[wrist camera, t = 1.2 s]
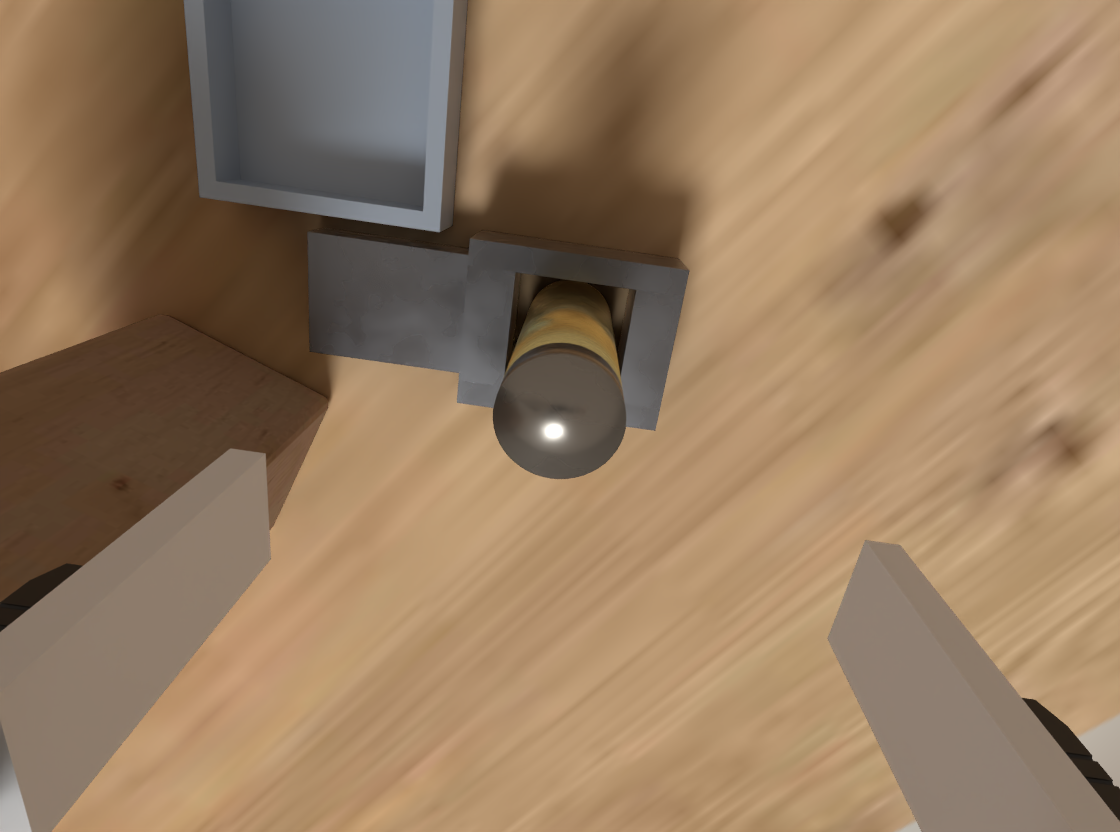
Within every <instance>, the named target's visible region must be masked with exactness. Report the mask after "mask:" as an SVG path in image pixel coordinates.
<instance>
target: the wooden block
mask: <svg viewBox="0 0 1120 832" xmlns="http://www.w3.org/2000/svg"><path fill="white" fill-rule="evenodd" d="M327 409H328V399H326V398H325V397H324V396H323V395H321V394H319V393H317V392H315V391H313V390H311V389H309V388H307V387H305V386H303V385H301V384H299V383H297V382H296V381H294V380H292V379H290V378H288V377H286V376H284V375H282V374H280V373H278V372H276V371H274V370H272V369H270V368H268V367H267V366H265V365H263V364H261V363H259V362H257V361H255V360H253V359H251V358H249V357H247V356H245V355H243V354H241V353H239V352H238V351H236V350H234V349H232V348H230V347H228V346H226V345H224V344H222V343H220V342H218V341H216V340H214V339H212V338H210V337H209V336H207V335H205V334H203V333H201V332H199V331H197V330H195V329H193V328H191V327H189V326H187V325H185V324H183V323H181V322H180V321H178V320H176V319H174V318H172V317H170V316H166V315H156V316H154V317H151V318H148V319H146V320H143V321H140V322H137V323H135V324H132V325H129V326H126V327H124V328H121V329H118V330H115V331H113V332H110V333H107V334H105V335H102V336H99V337H96V338H94V339H91V340H88V341H85V342H83V343H80V344H77V345H75V346H72V347H69V348H66V349H64V350H61V351H58V352H55V353H53V354H50V355H47V356H45V357H42V358H39V359H36V360H34V361H31V362H28V363H25V364H23V365H20V366H17V367H14V368H12V369H9V370H6V371H4V372H1V373H0V602H1V601H3V600H4V599H5V598H7V597H8V596H9V595H11V594H12V593H13V592H15V591H16V590H17V589H19V588H20V587H21V586H23V585H24V584H25V583H27V582H28V581H29V580H31V579H34V578H36V577H38V576H40V575H42V574H44V573H47V572H49V571H51V570H53V569H55V568H57V567H60V566H62V565H64V564H66V563H68V564H75V565H82V566H84V565H85V564H86V563H87V562H89V561H90V560H91V559H92V558H94V557H95V556H96V555H97V554H99V553H100V552H101V551H102V550H104V549H105V548H106V547H107V546H109V545H110V544H111V543H112V542H114V541H115V540H116V539H117V538H119V537H120V536H121V535H122V534H124V533H125V532H126V531H127V530H129V529H130V528H131V527H132V526H134V525H135V524H136V523H137V522H139V521H140V520H141V519H142V518H144V517H145V516H146V515H147V514H149V513H150V512H151V511H153V510H154V509H155V508H156V507H158V506H159V505H160V504H161V503H163V502H164V501H165V500H166V499H168V498H169V497H170V496H171V495H173V494H174V493H175V492H176V491H178V490H179V489H180V488H181V487H183V486H184V485H185V484H186V483H188V482H189V481H190V480H191V479H193V478H194V477H195V476H196V475H198V474H199V473H200V472H201V471H203V470H204V469H205V468H206V467H208V466H209V465H210V464H211V463H213V462H214V461H215V460H216V459H218V458H219V457H220V456H221V455H223V454H224V453H225V452H226V451H228V450H229V449H230V448H231V449H238V450H245V451H252V452H259V453H266V472H267V493H268V513H269V530H270V529H271V528H272V527H273V525H274V523H275V521H276V519H277V517H278V515H279V512H280V510H281V508H282V506H283V504H284V502H285V500H286V497H287V495H288V493H289V491H290V489H291V487H292V484H293V482H294V480H295V478H296V476H297V474H298V471H299V469H300V467H301V465H302V463H303V461H304V458H305V456H306V454H307V452H308V450H309V448H310V446H311V443H312V441H313V439H314V437H315V435H316V433H317V430H318V428H319V426H320V424H321V422H322V420H323V417H324V415H325V413H326V411H327Z"/></svg>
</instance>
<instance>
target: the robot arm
mask: <svg viewBox="0 0 1120 832" xmlns="http://www.w3.org/2000/svg"><path fill="white" fill-rule="evenodd" d="M270 559H271V553H270V533H269V513H268V493H267V472H266V453H259V452H252V451H245V450H238V449H231V448H230V449H229V450H228V451H226V452H225V453H224V454H223V455H221V456H220V457H219V458H218V459H216V460H215V461H214V462H213V463H211V464H210V465H209V466H208V467H206V468H205V469H204V470H203V471H201V472H200V473H199V474H198V475H196V476H195V477H194V478H193V479H191V480H190V481H189V482H188V483H186V484H185V485H184V486H183V487H181V488H180V489H179V490H178V491H176V492H175V493H174V494H173V495H171V496H170V497H169V498H168V499H166V500H165V501H164V502H163V503H161V504H160V505H159V506H158V507H156V508H155V509H154V510H153V511H151V512H150V513H149V514H147V515H146V516H145V517H144V518H142V519H141V520H140V521H139V522H137V523H136V524H135V525H134V526H132V527H131V528H130V529H129V530H127V531H126V532H125V533H124V534H122V535H121V536H120V537H119V538H117V539H116V540H115V541H114V542H112V543H111V544H110V545H109V546H107V547H106V548H105V549H104V550H102V551H101V552H100V553H99V554H97V555H96V556H95V557H94V558H92V559H91V560H90V561H89V562H87V563H86V564H85V565H84V566H82V565H75V564H68V563H66V564H64V565H62V566H60V567H57V568H55V569H53V570H51V571H49V572H47V573H44V574H42V575H40V576H38V577H36V578H34V579H31V580H29V581H28V582H27V583H25V584H24V585H23V586H21V587H20V588H19V589H17V590H16V591H15V592H13V593H12V594H11V595H9V596H8V597H7V598H5V599H4V600H3V601H1V602H0V832H51V831H52V830H53V829H54V828H55V826H56V825H57V824H58V823H59V822H60V820H61V819H62V818H63V817H64V815H65V814H66V813H67V812H68V810H69V809H70V808H71V807H72V805H73V804H74V803H75V802H76V800H77V799H78V798H79V797H80V795H81V794H82V793H83V792H84V790H85V789H86V788H87V787H88V785H89V784H90V783H91V782H92V781H93V779H94V778H95V777H96V776H97V774H98V773H99V772H100V771H101V769H102V768H103V767H104V766H105V764H106V763H107V762H108V761H109V759H110V758H111V757H112V756H113V754H114V753H115V752H116V751H117V749H118V748H119V747H120V746H121V745H122V743H123V742H124V741H125V740H126V738H127V737H128V736H129V735H130V733H131V732H132V731H133V730H134V728H135V727H136V726H137V725H138V723H139V722H140V721H141V720H142V718H143V717H144V716H145V715H146V713H147V712H148V711H149V710H150V708H151V707H152V706H153V705H154V704H155V702H156V701H157V700H158V699H159V697H160V696H161V695H162V694H163V692H164V691H165V690H166V689H167V687H168V686H169V685H170V684H171V682H172V681H173V680H174V679H175V677H176V676H177V675H178V674H179V672H180V671H181V670H182V669H183V668H184V666H185V665H186V664H187V663H188V661H189V660H190V659H191V658H192V656H193V655H194V654H195V653H196V651H197V650H198V649H199V648H200V646H201V645H202V644H203V643H204V641H205V640H206V639H207V638H208V636H209V635H210V634H211V633H212V631H213V630H214V629H215V628H216V627H217V625H218V624H219V623H220V622H221V620H222V619H223V618H224V617H225V615H226V614H227V613H228V612H229V610H230V609H231V608H232V607H233V605H234V604H235V603H236V602H237V600H238V599H239V598H240V597H241V595H242V594H243V593H244V592H245V591H246V589H247V588H248V587H249V586H250V584H251V583H252V582H253V581H254V579H255V578H256V577H257V576H258V574H259V573H260V572H261V571H262V569H263V568H264V567H265V566H266V564H267V563H268V562H269V561H270ZM828 641H829V643H830V645H831V647H832V649H833V651H834V653H835V655H836V657H837V659H838V661H839V664H840V666H841V668H842V670H843V672H844V674H845V676H846V678H847V680H848V682H849V684H850V686H851V688H852V690H853V692H854V694H855V696H856V698H857V700H858V702H859V704H860V707H861V709H862V711H863V713H864V715H865V717H866V719H867V721H868V723H869V725H870V727H871V729H872V731H873V733H874V735H875V737H876V739H877V741H878V743H879V745H880V747H881V750H882V752H883V754H884V756H885V758H886V760H887V762H888V764H889V766H890V768H891V770H892V772H893V774H894V776H895V778H896V780H897V782H898V784H899V786H900V788H901V790H902V793H903V795H904V797H905V799H906V801H907V803H908V805H909V807H910V809H911V811H912V813H913V815H914V817H915V819H916V821H917V823H918V825H919V827H920V829H921V831H922V832H1120V789H1119V787H1117V786H1114V785H1113V783H1112V781H1113V780H1112V779H1111V778H1110V776H1109V775H1108V774H1107V773H1106V772H1105V771H1104V769H1103V768H1102V767H1101V766H1100V764H1099V763H1098V762H1095V761H1093V760H1092V755H1091V754H1090V752H1089V751H1088V750H1087V749H1086V748H1085V746H1084V745H1083V744H1082V743H1081V742H1080V741H1079V739H1078V738H1077V737H1076V736H1075V735H1074V733H1073V732H1072V731H1071V730H1070V729H1069V727H1068V726H1067V725H1065V724H1064V723H1063V722H1062V721H1060V720H1059V719H1058V718H1057V717H1056V716H1054V715H1053V714H1052V713H1051V712H1049V711H1048V710H1047V709H1046V708H1045V707H1043V706H1042V705H1041V704H1040V703H1038V702H1037V701H1036V700H1033V699H1026V698H1021V697H1020V695H1019V694H1018V693H1017V692H1016V690H1015V689H1014V688H1013V687H1012V685H1011V684H1010V683H1009V681H1008V680H1007V679H1006V678H1005V676H1004V675H1003V674H1002V673H1001V671H1000V670H999V669H998V668H997V666H996V665H995V664H994V663H993V661H992V660H991V659H990V658H989V656H988V655H987V654H986V653H985V651H984V650H983V649H982V648H981V646H980V645H979V644H978V642H977V641H976V640H975V639H974V637H973V636H972V635H971V634H970V632H969V631H968V630H967V629H966V627H965V626H964V625H963V624H962V622H961V621H960V620H959V619H958V617H957V616H956V615H955V614H954V612H953V611H952V610H951V609H950V607H949V606H948V605H947V603H946V602H945V601H944V600H943V598H942V597H941V596H940V595H939V593H938V592H937V591H936V590H935V588H934V587H933V586H932V585H931V583H930V582H929V581H928V580H927V578H926V577H925V576H924V575H923V573H922V572H921V571H920V570H919V568H918V567H917V566H916V564H915V563H914V562H913V561H912V559H911V558H910V557H909V556H908V554H907V553H906V552H905V551H904V549H903V548H902V547H901V546H900V545H896V544H889V543H882V542H875V541H869V540H865V542H864V545H863V547H862V550H861V553H860V555H859V558H858V560H857V563H856V566H855V568H854V571H853V573H852V576H851V579H850V581H849V584H848V586H847V589H846V592H845V594H844V597H843V599H842V602H841V605H840V607H839V610H838V613H837V615H836V618H835V620H834V623H833V626H832V628H831V631H830V633H829V636H828Z"/></svg>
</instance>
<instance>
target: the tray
mask: <svg viewBox="0 0 1120 832" xmlns="http://www.w3.org/2000/svg"><path fill="white" fill-rule="evenodd" d="M467 5H468V0H184V10H185V22H186V35H187V47H188V60H189V72H190V85H191V97H192V109H193V122H194V134H195V147H196V159H197V172H198V184H199V197H201V198H208V199H215V200H222V201H229V202H236V203H243V204H249V205H256V206H263V207H270V208H277V209H284V210H291V211H298V212H304V213H311V214H318V215H325V216H332V217H339V218H346V219H353V220H359V221H366V222H373V223H380V224H387V225H394V226H401V227H407V228H414V229H421V230H428V231H435V232H441V231H443V230H445V229H447V228H449V227H451V226H453V211H454V196H455V182H456V167H457V152H458V137H459V123H460V108H461V93H462V78H463V64H464V49H465V34H466V20H467Z"/></svg>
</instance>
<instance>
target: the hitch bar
mask: <svg viewBox="0 0 1120 832" xmlns="http://www.w3.org/2000/svg"><path fill="white" fill-rule="evenodd" d="M521 273H524V274H531V275H538V276H545V277H552V278H559V279H566V280H573V281H580V282H586V283H593V284H600V285H607V286H614V287H621V288H628V289H629V292H628V297H627V303H626V308H625V314H624V320H623V325H622V331H621V336H620V342H619V347H618V353H617V358H618V364H619V370H620V377H621V383H622V389H623V396H624V402H625V408H626V427H633V428H640V429H647V430H654V431H655V429H656V424H657V420H658V415H659V410H660V406H661V401H662V396H663V392H664V387H665V382H666V378H667V373H668V368H669V364H670V359H671V354H672V350H673V345H674V340H675V335H676V331H677V326H678V321H679V317H680V312H681V307H682V303H683V298H684V293H685V289H686V284H687V279H688V275H689V269H688V268H687V267H686V266H685V265H684V264H683V263H682V262H681V261H680V260H679V259H678V258H671V257H664V256H657V255H650V254H643V253H637V252H630V251H623V250H616V249H609V248H602V247H595V246H588V245H582V244H575V243H568V242H561V241H554V240H547V239H540V238H534V237H527V236H520V235H513V234H506V233H499V232H492V231H486V230H481V231H480V232H479V233H477V234H476V235H474V236H473V237H471V238H470V243H469V248H462V247H455V246H448V245H441V244H434V243H427V242H420V241H414V240H407V239H400V238H393V237H386V236H379V235H372V234H365V233H359V232H352V231H345V230H338V229H331V228H320V229H316V230H312V231H308V287H309V343H310V352H316V353H323V354H330V355H337V356H344V357H351V358H358V359H365V360H372V361H379V362H386V363H393V364H400V365H407V366H414V367H421V368H428V369H435V370H442V371H450V372H457V373H459V383H458V395H457V403H463V404H470V405H477V406H484V407H491V408H494V403H495V400H496V396H497V394H498V391H499V388H500V386H501V383H502V380H503V378H504V375H505V372H506V370H507V367H508V364H509V362H510V359H511V356H512V353H513V344H514V335H515V326H516V317H517V308H518V299H519V290H520V281H521Z"/></svg>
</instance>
